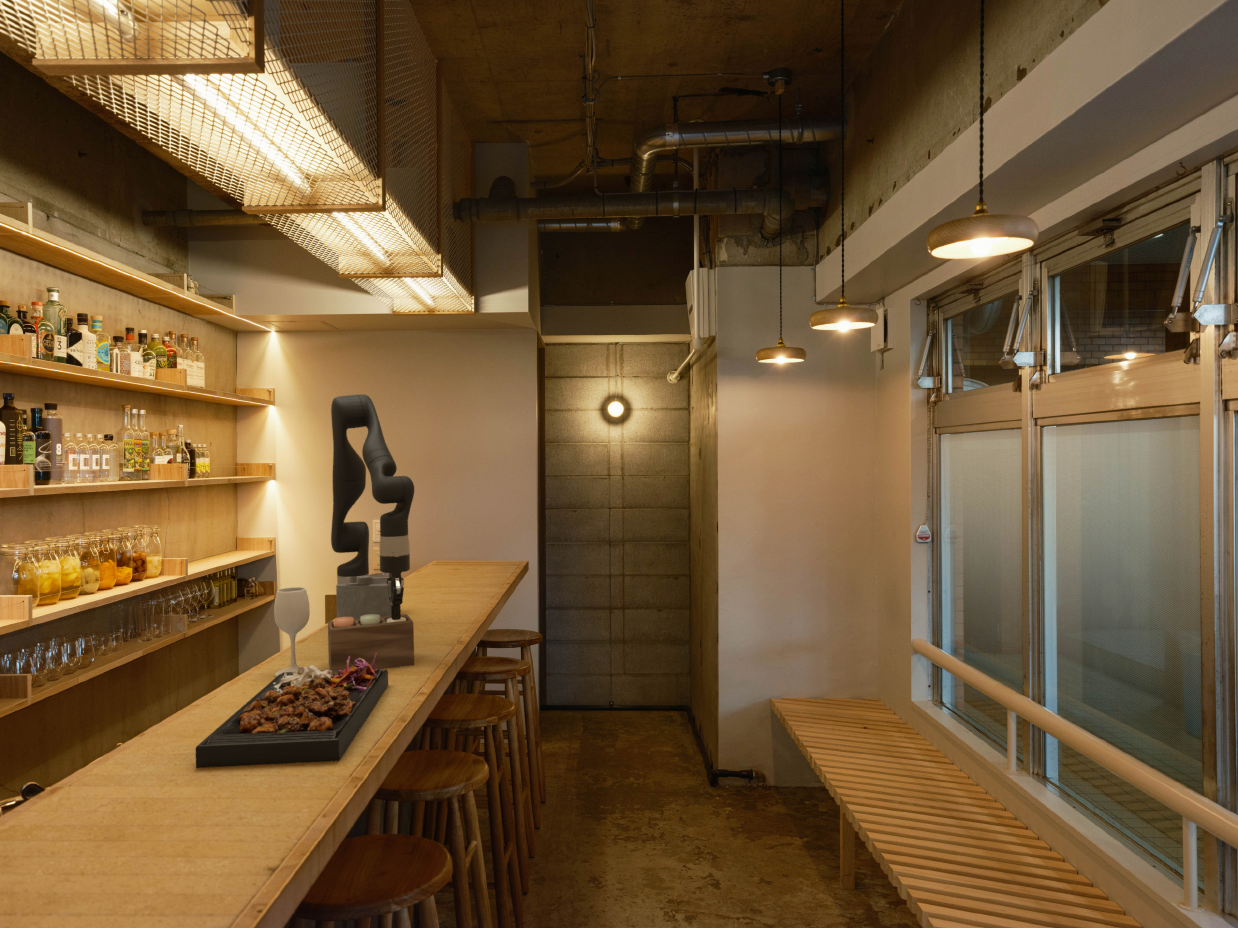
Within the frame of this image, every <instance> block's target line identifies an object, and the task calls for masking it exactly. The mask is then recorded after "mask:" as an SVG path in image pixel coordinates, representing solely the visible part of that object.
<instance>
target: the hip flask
mask: <svg viewBox="0 0 1238 928" xmlns="http://www.w3.org/2000/svg"><path fill="white" fill-rule="evenodd" d="M369 579H370V576H358V577H357V580H358V582H357V583H348V584H338V585H337V584H336V585H335V591H336V593H335V594H336V618H338V617H353V618H354V619H360V617H361V616H363V615H368V614H378V615H380V617H382V616H391V604H390V601H389V595H388V585H387V584H369V583H370V582H369Z"/></svg>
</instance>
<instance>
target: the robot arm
mask: <svg viewBox="0 0 1238 928" xmlns="http://www.w3.org/2000/svg"><path fill="white" fill-rule="evenodd" d="M330 414H331V415H330V416H331V429H332V443H333V444H332V445H333V449H332V450H333V453H332V454H333V455H332V458H333V459H332V503H333V504H332V516H331V517H332V519H331V529H330V530H331V533H330V538H331V539H330V543H331V547H332V548H331V549H332V550H333V552H334V553H337V554H343V553H344V554H345V553H346V554H347V553H357V554H356V556H355V557H353V558H352V559H350V560H349V561H347V562H344V563H342V564H339V565H338V566H337V567H336V578H337V579H336V581H337V583H336V585H338V584H348V583H357V582H358V580H357V577H358V576H369V575H370V567H369V561H370V560H369V551H370V550H369V549H370V548H369V547H370V529H369V525H368V523H367V522H366V521H348V522H347V521H345V520H346V517H347V516H348V513H349V512H350V510H351V508H352V507H353V506H354V505H355V504H356V503H357V502H358V500H359V499H360V497H362V495H363V494H364V491H365V489H366V484H367V483H366V482H367V479H366V478H367V470H368V472H369V476H370V481H371V494H372V497H373V499H374V500H375V501H376V502H377V503H379V504H383V505H385V504H386V505H387V504H388V505H389V504H396V505H395V506H394V509H393V510H392V511H388V512H385V513H382V515H381V514H380V518H379V545H378V546H379V571H380V573H389V578H387V585H388V595H389V601H390V604H391V618H392V619H393V620H399V619H400V618H401V615H402V614H401V610H402V609H401V605H402V604H403V602H404V601H403V598H404V590H405V588H404V585H405V579H404V578H403V577H402V573H405V572H408V571H409V570H410V569H411V560H410V559H411V554H410V551H411V550H410V539H409V517H410V511H411V507H412V504H413V501H414V495H415V485H414V481H413V480H412V478H411V477H409V476H407V475H397V476H395V474H396V472H397V470H398V469H397V464H396V461H395V459H394V457H393V456H392V453H391V451H390V450H389V448H388V445H387V443H386V439H385V438H384V434H383V430H382V427H381V423H380V419H379V416H378V413H377V410H376V406H375V405H374V402H373V400H372V398H371V397H370V396H369V395H367V394H349V395H341V396H335V397H334V398H333V399H332V401H331V408H330ZM364 427H366V428H367V436H366V437H365V441H364V443H363V445H362V449H361V450H362V451H361V453H362V458H361V456H360V455H359V453H358V452H357V451H356V449H354V448H353V446H352V445H351V443H350V441H349V439H348V435H347V434H348V432H347V431H348V430H349V429H350V430H351V429H357V428H364Z"/></svg>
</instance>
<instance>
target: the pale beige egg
mask: <svg viewBox="0 0 1238 928" xmlns="http://www.w3.org/2000/svg"><path fill="white" fill-rule="evenodd" d="M399 621H406V618H404V617H401V618H400V619H399V620H393V619H392V618H389V619H387V623H389V622H399Z"/></svg>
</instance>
